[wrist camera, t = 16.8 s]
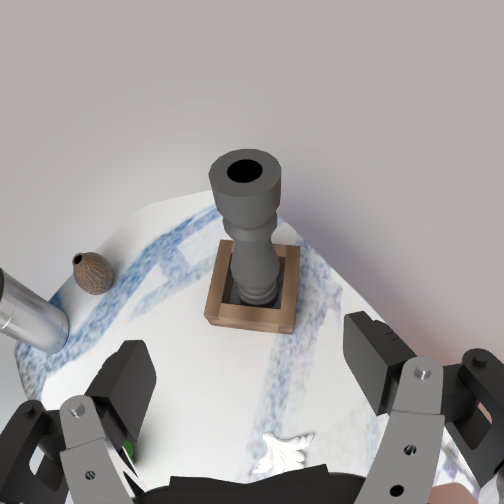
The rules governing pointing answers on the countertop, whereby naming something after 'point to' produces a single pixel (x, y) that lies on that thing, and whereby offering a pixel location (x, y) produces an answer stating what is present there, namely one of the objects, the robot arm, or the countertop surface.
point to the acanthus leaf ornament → (283, 453)
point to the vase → (92, 272)
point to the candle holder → (250, 220)
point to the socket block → (248, 316)
